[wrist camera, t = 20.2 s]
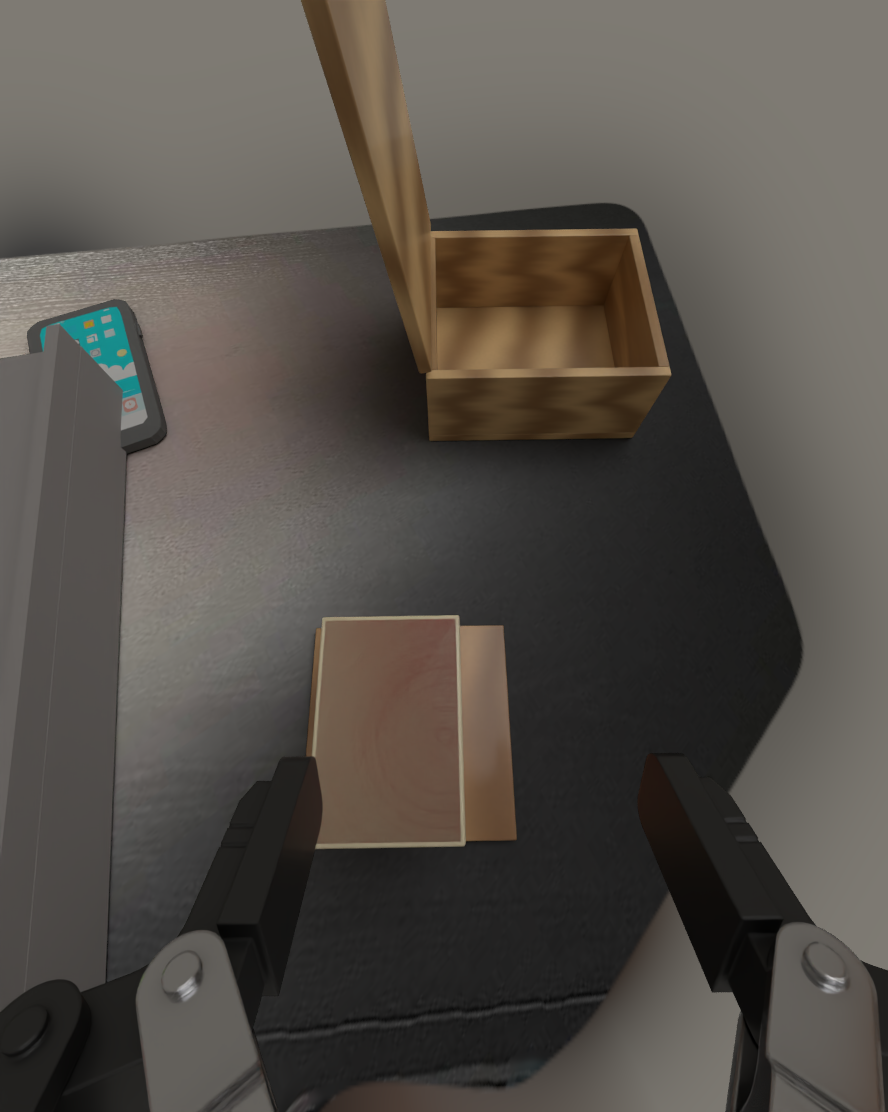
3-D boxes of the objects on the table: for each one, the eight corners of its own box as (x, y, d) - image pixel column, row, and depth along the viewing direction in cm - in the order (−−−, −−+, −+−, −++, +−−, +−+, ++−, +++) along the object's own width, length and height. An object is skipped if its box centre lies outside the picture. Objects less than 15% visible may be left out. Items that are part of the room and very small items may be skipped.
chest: (607, 306, 41) (637, 228, 34) (632, 438, 36) (671, 375, 30) (428, 309, 41) (425, 230, 34) (429, 441, 36) (425, 378, 30)
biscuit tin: (454, 656, 30) (459, 614, 19) (458, 804, 27) (466, 846, 16) (364, 658, 29) (321, 616, 19) (358, 806, 27) (303, 849, 16)
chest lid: (348, -184, 19) (329, -178, 19) (322, -16, 14) (297, -8, 14) (430, 223, 34) (419, 225, 34) (431, 372, 29) (419, 374, 29)
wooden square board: (502, 626, 31) (503, 625, 30) (515, 838, 26) (517, 840, 26) (317, 629, 31) (315, 628, 30) (301, 842, 26) (298, 844, 26)
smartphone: (45, 471, 34) (21, 324, 38) (56, 478, 35) (31, 334, 39) (166, 430, 35) (127, 293, 40) (173, 438, 36) (134, 303, 41)
